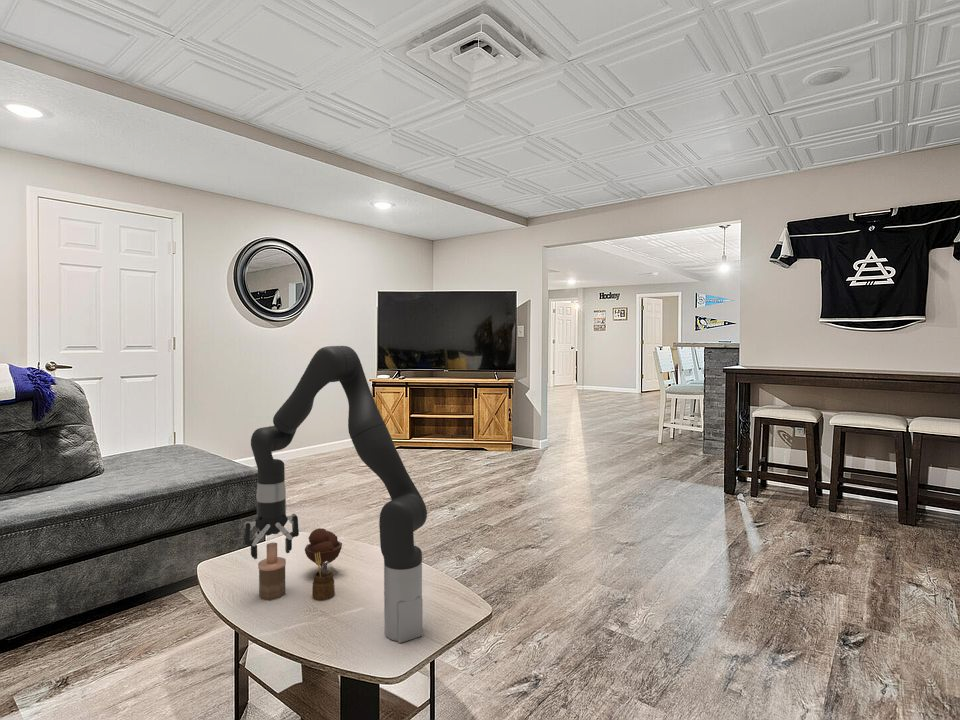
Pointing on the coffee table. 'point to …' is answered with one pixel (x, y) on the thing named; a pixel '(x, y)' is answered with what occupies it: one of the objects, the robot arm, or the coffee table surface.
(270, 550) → the lid
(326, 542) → the ice cream bowl
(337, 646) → the coffee table surface
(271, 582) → the canister
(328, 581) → the utensil holder
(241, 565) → the coffee table surface
